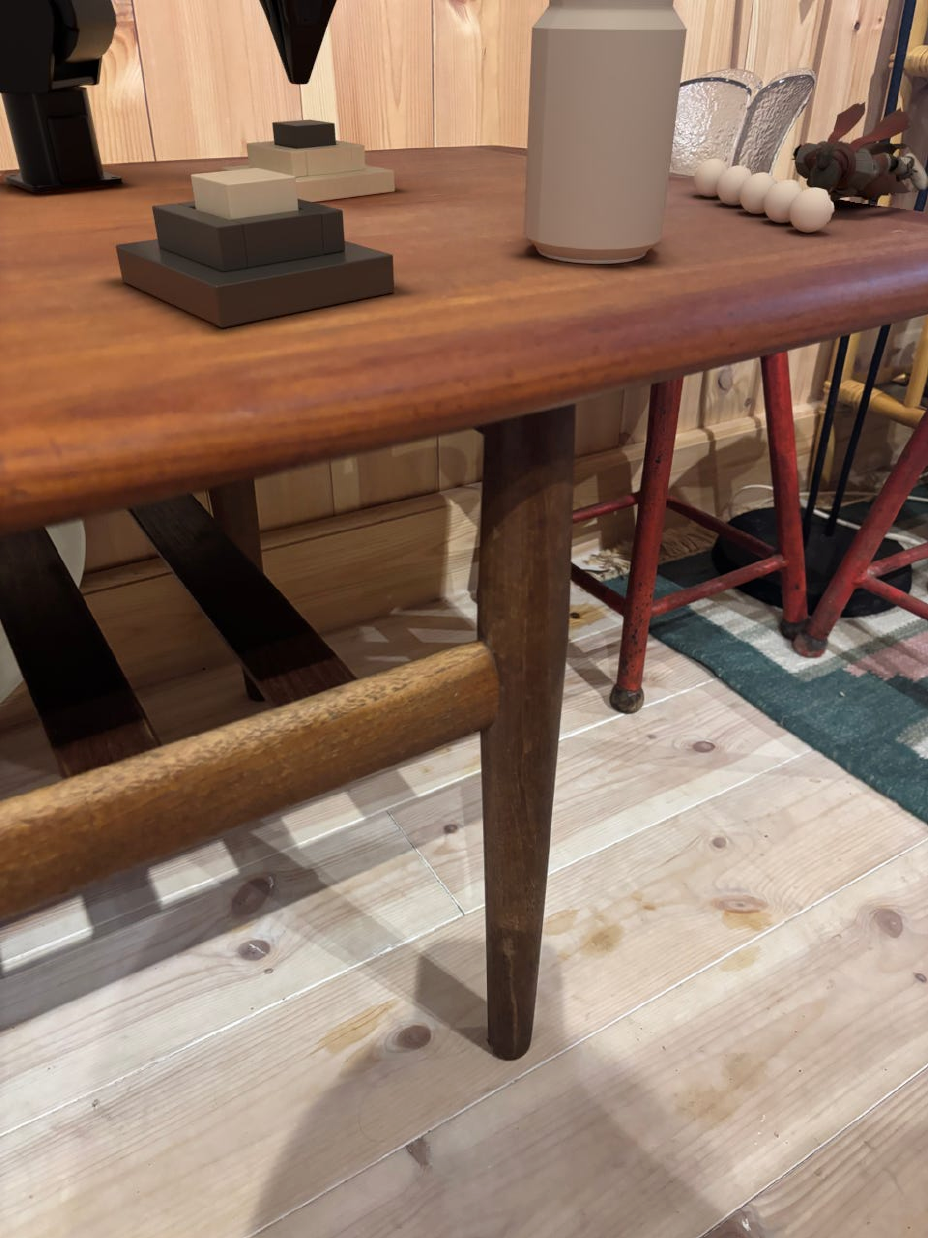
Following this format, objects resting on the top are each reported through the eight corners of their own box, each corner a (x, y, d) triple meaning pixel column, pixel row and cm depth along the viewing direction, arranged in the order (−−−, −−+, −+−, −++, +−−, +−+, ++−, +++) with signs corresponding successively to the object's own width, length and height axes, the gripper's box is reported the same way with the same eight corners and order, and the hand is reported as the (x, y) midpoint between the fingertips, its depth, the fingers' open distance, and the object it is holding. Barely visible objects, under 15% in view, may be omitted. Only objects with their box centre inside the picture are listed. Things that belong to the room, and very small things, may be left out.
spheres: (723, 156, 64) (715, 194, 65) (691, 155, 64) (685, 193, 65) (847, 191, 52) (835, 236, 53) (810, 189, 52) (798, 235, 53)
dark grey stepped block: (122, 281, 44) (106, 203, 42) (282, 255, 48) (275, 183, 46) (221, 328, 37) (208, 238, 35) (395, 292, 42) (392, 211, 40)
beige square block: (196, 216, 41) (190, 174, 40) (261, 207, 43) (257, 167, 42) (232, 227, 39) (227, 183, 38) (299, 218, 41) (295, 175, 40)
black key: (274, 149, 65) (271, 122, 64) (312, 146, 66) (310, 119, 65) (298, 154, 63) (295, 125, 62) (336, 150, 64) (334, 122, 63)
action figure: (821, 189, 70) (746, 203, 57) (840, 100, 67) (766, 94, 54) (931, 198, 67) (878, 215, 54) (956, 104, 64) (907, 99, 50)
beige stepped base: (223, 188, 66) (217, 142, 65) (326, 176, 71) (323, 133, 69) (288, 205, 61) (283, 155, 59) (395, 191, 65) (393, 145, 64)
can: (689, 256, 49) (726, -15, 42) (583, 274, 45) (606, -19, 38) (597, 232, 54) (617, -13, 47) (495, 246, 50) (502, -16, 44)
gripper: (78, -218, 55) (130, 80, 64) (228, -277, 43) (266, 98, 52) (241, -194, 61) (268, 75, 70) (411, -240, 49) (418, 90, 58)
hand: (299, 83), depth 62 cm, fingers closed
